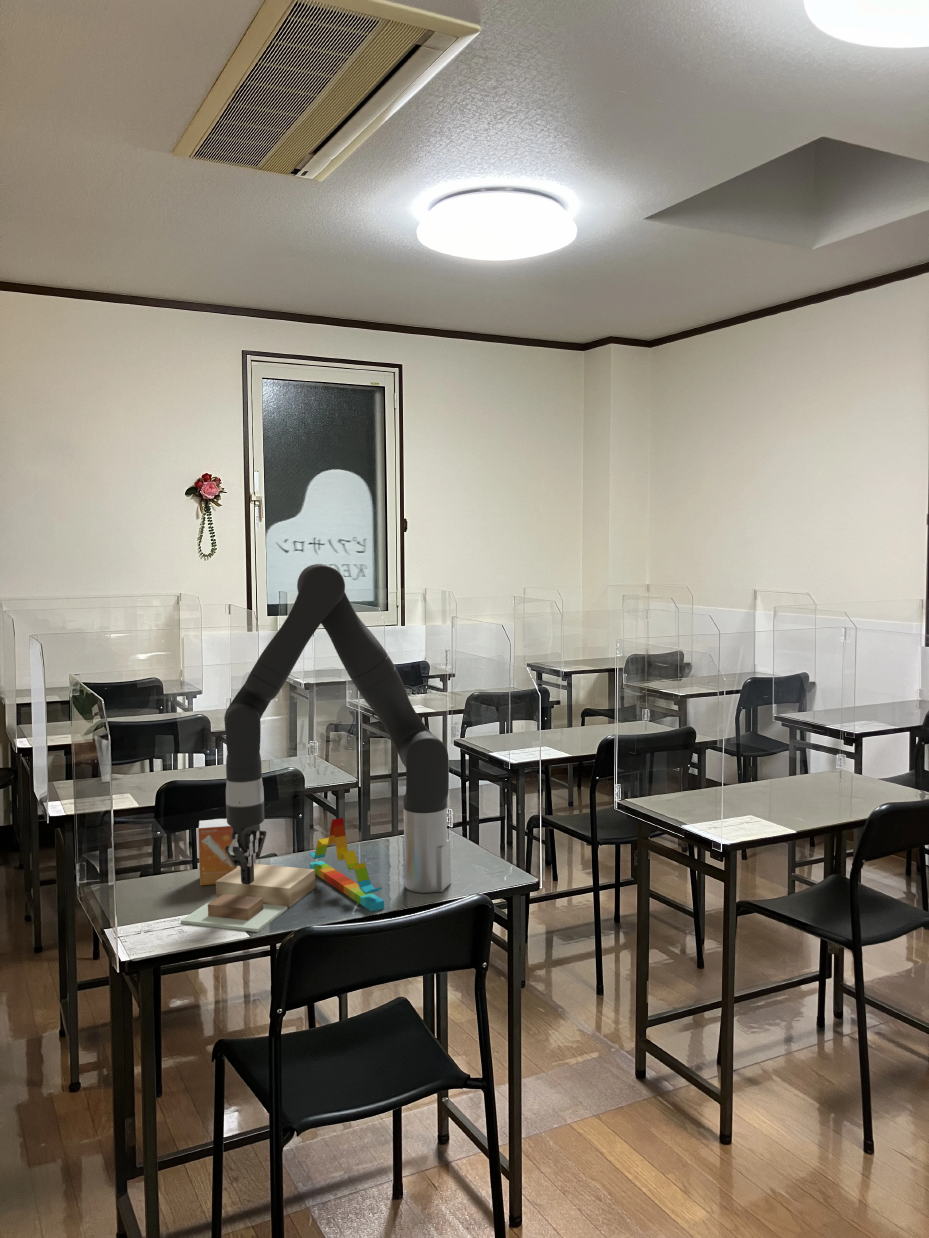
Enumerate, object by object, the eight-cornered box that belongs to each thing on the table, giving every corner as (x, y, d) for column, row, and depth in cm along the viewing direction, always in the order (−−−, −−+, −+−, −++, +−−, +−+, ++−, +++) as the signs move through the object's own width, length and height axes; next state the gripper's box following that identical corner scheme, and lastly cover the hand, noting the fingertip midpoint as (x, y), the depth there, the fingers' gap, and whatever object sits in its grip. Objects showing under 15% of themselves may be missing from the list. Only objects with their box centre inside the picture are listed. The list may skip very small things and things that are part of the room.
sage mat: (287, 909, 200) (287, 906, 200) (257, 931, 189) (257, 928, 189) (213, 901, 206) (213, 898, 205) (180, 923, 194) (180, 920, 194)
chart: (385, 909, 200) (383, 837, 199) (371, 912, 199) (369, 840, 197) (322, 868, 226) (321, 804, 225) (309, 871, 224) (308, 806, 223)
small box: (199, 886, 215) (197, 827, 214) (200, 876, 221) (198, 819, 220) (238, 882, 217) (235, 824, 216) (238, 873, 223) (235, 817, 222)
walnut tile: (248, 908, 193) (248, 920, 193) (263, 897, 199) (263, 909, 199) (207, 904, 196) (208, 916, 196) (223, 893, 201) (223, 905, 202)
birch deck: (315, 887, 213) (314, 869, 212) (289, 907, 201) (288, 888, 201) (245, 880, 218) (244, 862, 218) (216, 899, 206) (215, 881, 206)
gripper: (244, 809, 194) (247, 895, 195) (277, 793, 206) (279, 874, 207) (211, 807, 196) (214, 892, 197) (245, 790, 208) (248, 870, 210)
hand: (247, 882), depth 202 cm, fingers closed
